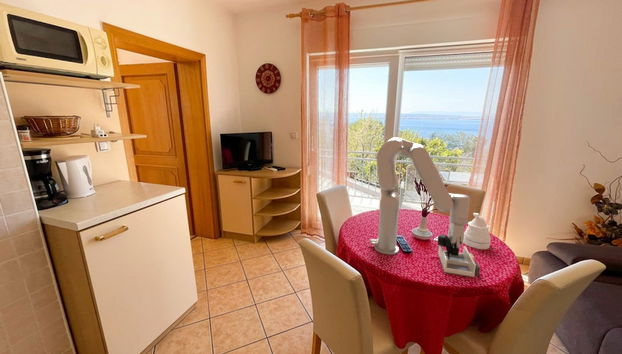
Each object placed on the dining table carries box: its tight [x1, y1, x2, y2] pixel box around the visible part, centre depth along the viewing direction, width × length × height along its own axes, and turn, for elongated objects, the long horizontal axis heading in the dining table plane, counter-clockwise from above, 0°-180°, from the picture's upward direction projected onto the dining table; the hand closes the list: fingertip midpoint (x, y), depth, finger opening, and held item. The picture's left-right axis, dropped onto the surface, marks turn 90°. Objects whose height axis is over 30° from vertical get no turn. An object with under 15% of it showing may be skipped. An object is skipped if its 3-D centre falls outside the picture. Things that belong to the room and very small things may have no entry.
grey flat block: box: [474, 261, 481, 277], centre depth 114 cm, size 1×5×4 cm, turn 162°
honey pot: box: [463, 212, 492, 250], centre depth 139 cm, size 13×13×18 cm
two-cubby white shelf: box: [437, 245, 476, 278], centre depth 120 cm, size 12×18×6 cm, turn 162°
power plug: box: [433, 233, 451, 259], centre depth 126 cm, size 6×8×12 cm
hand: (453, 254), depth 124 cm, fingers closed
